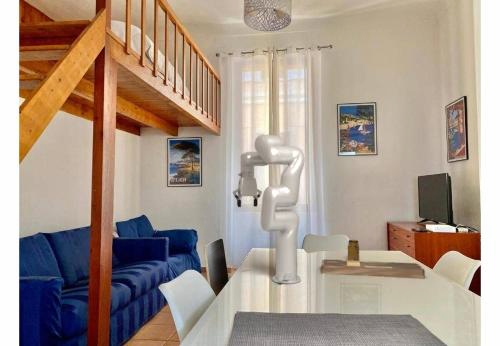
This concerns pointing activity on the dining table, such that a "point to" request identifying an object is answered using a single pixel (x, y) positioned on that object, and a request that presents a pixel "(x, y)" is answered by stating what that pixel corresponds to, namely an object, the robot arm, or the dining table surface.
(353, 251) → the condiment
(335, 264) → the box
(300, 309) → the dining table surface
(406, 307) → the dining table surface
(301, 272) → the dining table surface
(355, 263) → the block
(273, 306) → the dining table surface
